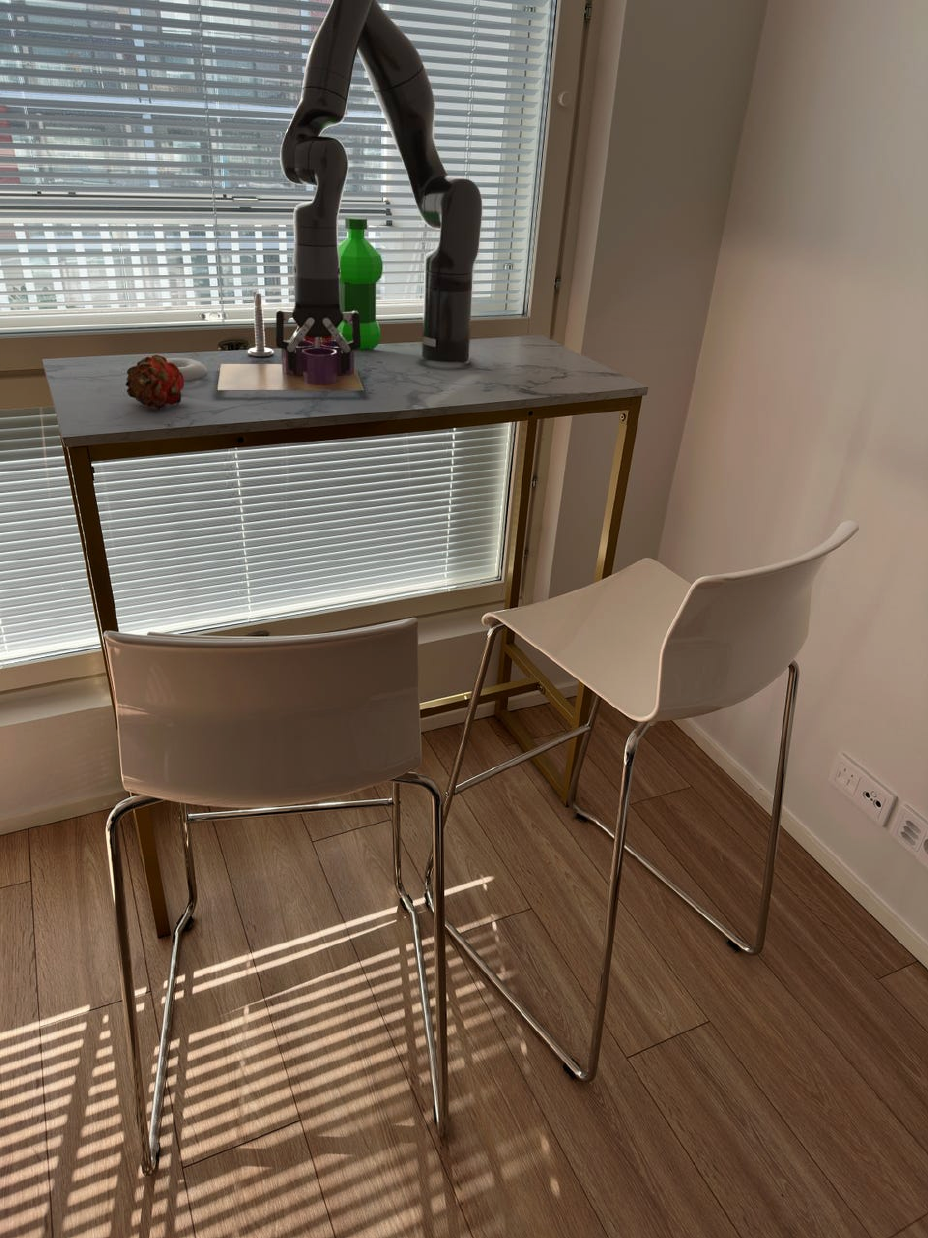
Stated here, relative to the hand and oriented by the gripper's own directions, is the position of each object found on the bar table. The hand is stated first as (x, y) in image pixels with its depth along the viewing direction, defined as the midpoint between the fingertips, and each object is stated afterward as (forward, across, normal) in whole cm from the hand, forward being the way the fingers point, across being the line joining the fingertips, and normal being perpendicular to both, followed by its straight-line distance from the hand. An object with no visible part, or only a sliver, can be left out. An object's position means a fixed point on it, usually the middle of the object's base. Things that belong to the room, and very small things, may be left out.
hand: (319, 373), depth 155 cm
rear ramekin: (+1, +3, -6) cm, 7 cm away
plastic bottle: (+3, -9, -28) cm, 30 cm away
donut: (+3, +24, -5) cm, 25 cm away
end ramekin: (+1, -4, -6) cm, 7 cm away
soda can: (+3, -1, -21) cm, 21 cm away
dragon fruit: (+3, +26, +10) cm, 28 cm away
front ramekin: (+1, 0, 0) cm, 1 cm away
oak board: (+3, +5, -3) cm, 6 cm away
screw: (+3, +10, -19) cm, 22 cm away
